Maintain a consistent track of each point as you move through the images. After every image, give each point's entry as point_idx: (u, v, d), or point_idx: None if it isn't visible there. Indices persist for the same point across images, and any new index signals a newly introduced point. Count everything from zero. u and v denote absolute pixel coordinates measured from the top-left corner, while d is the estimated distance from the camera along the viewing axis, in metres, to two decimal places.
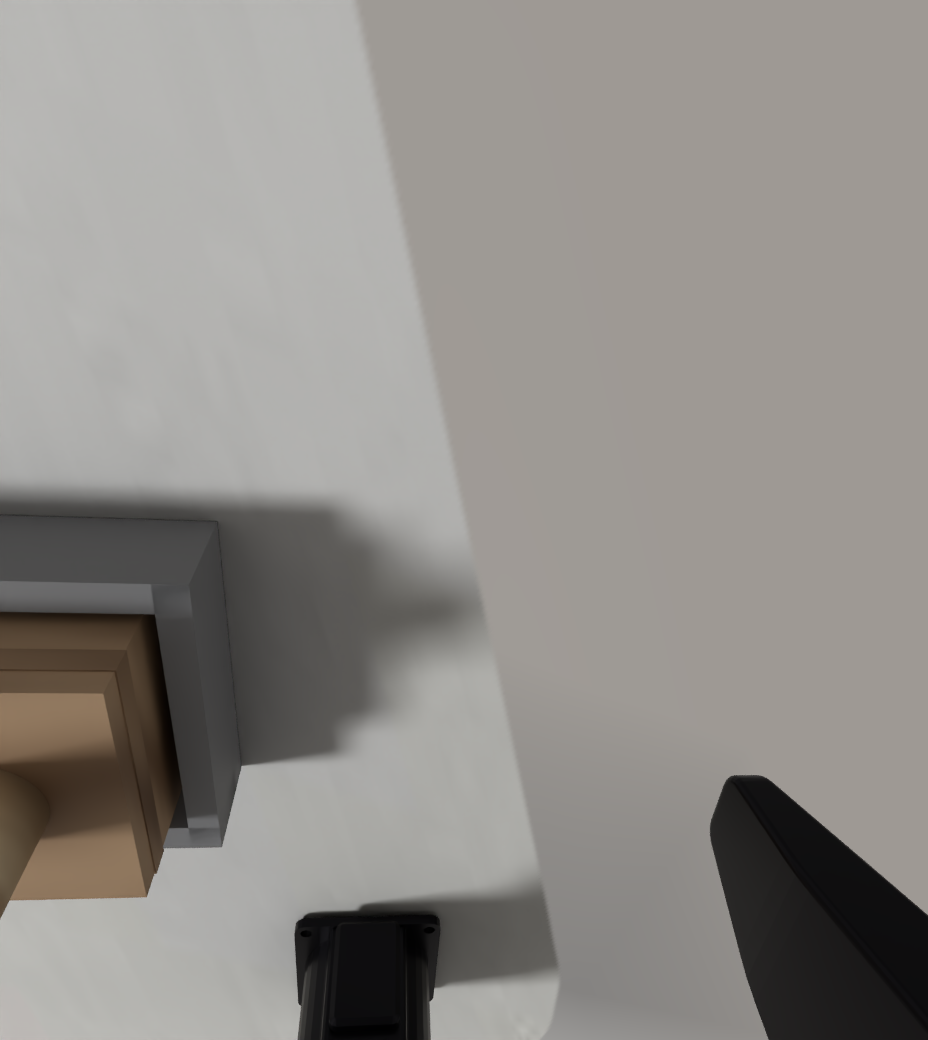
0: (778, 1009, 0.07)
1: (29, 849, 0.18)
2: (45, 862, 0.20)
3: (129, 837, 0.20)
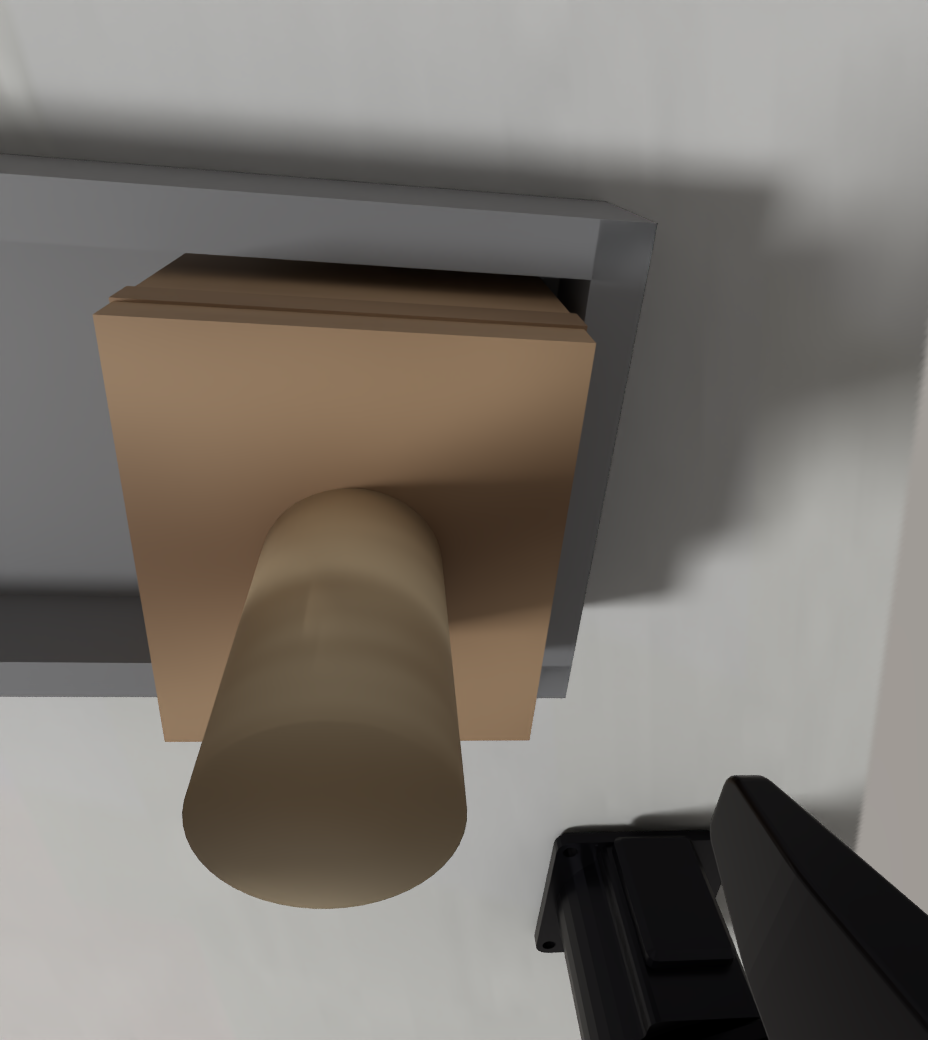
0: (778, 1009, 0.07)
1: None
2: None
3: (539, 633, 0.13)
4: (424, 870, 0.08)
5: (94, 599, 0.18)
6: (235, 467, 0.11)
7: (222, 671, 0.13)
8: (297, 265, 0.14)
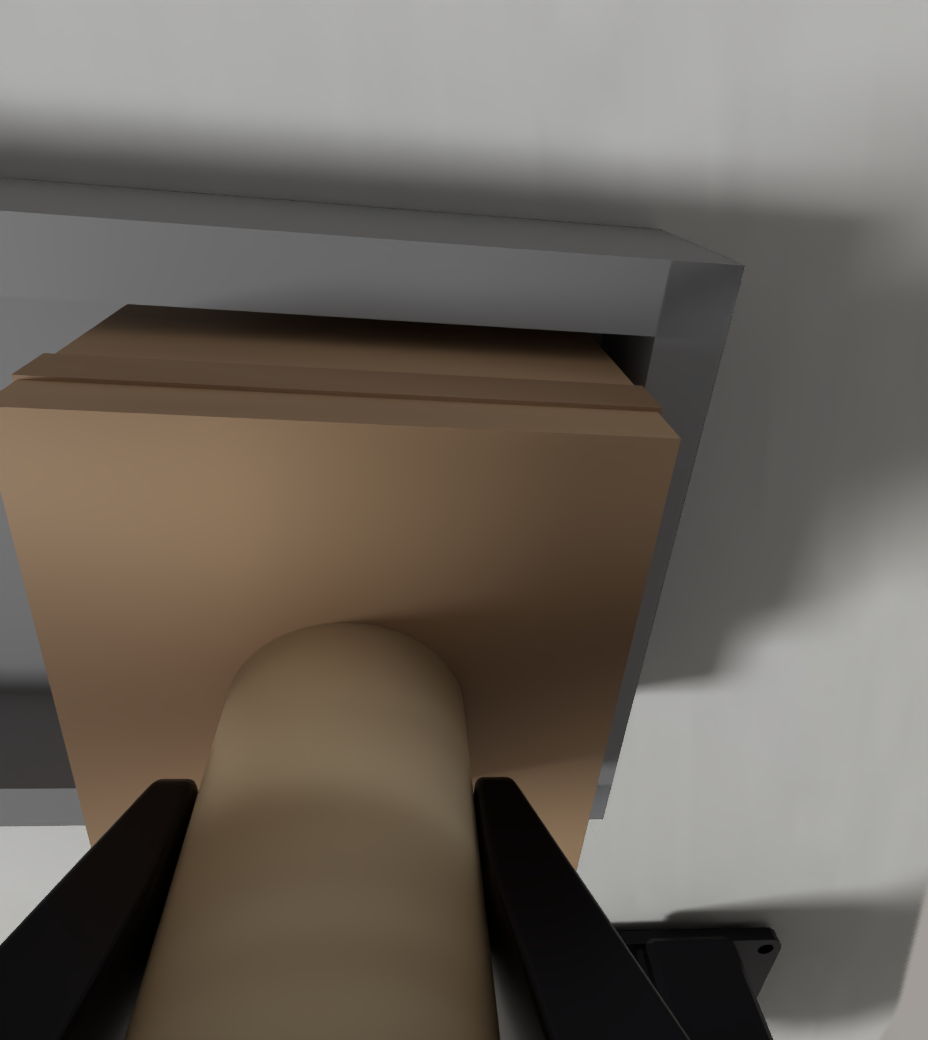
0: None
1: None
2: None
3: (586, 787, 0.10)
4: None
5: (41, 697, 0.15)
6: (188, 599, 0.08)
7: None
8: None
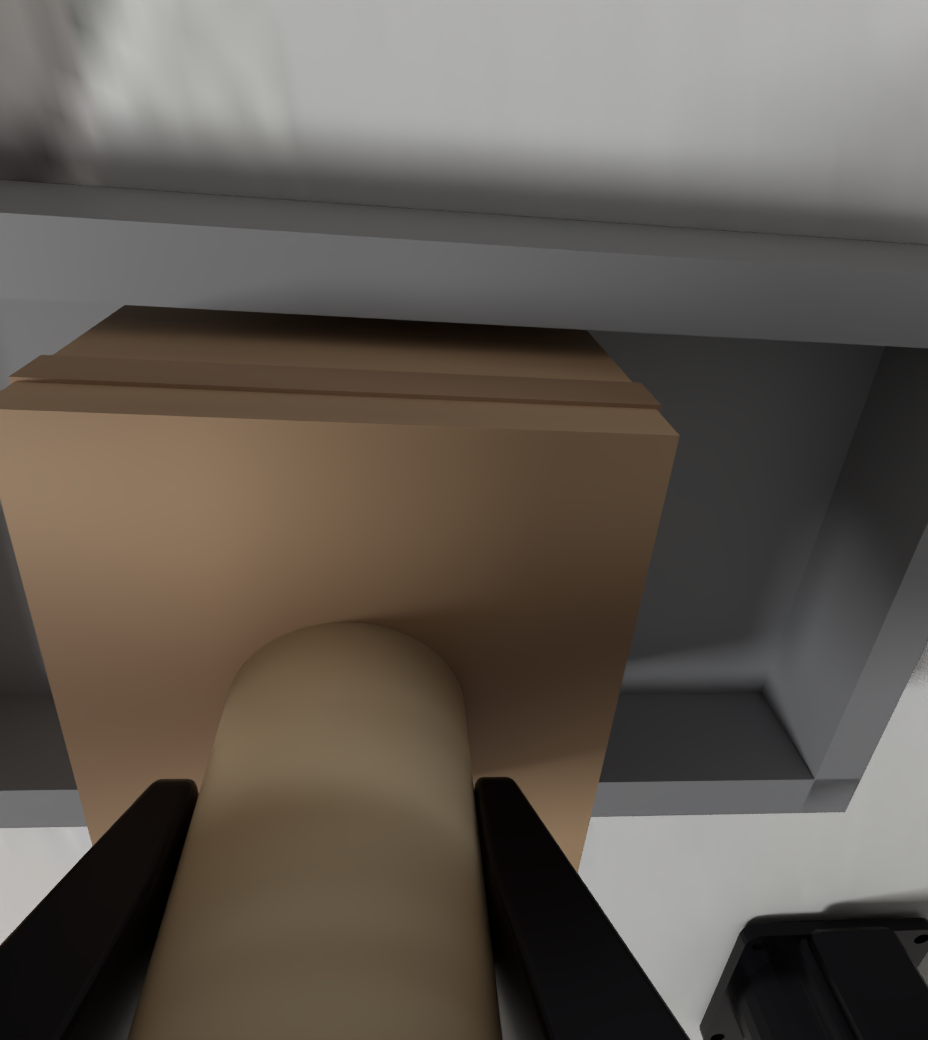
0: None
1: None
2: None
3: (587, 784, 0.10)
4: None
5: None
6: (187, 600, 0.08)
7: None
8: None
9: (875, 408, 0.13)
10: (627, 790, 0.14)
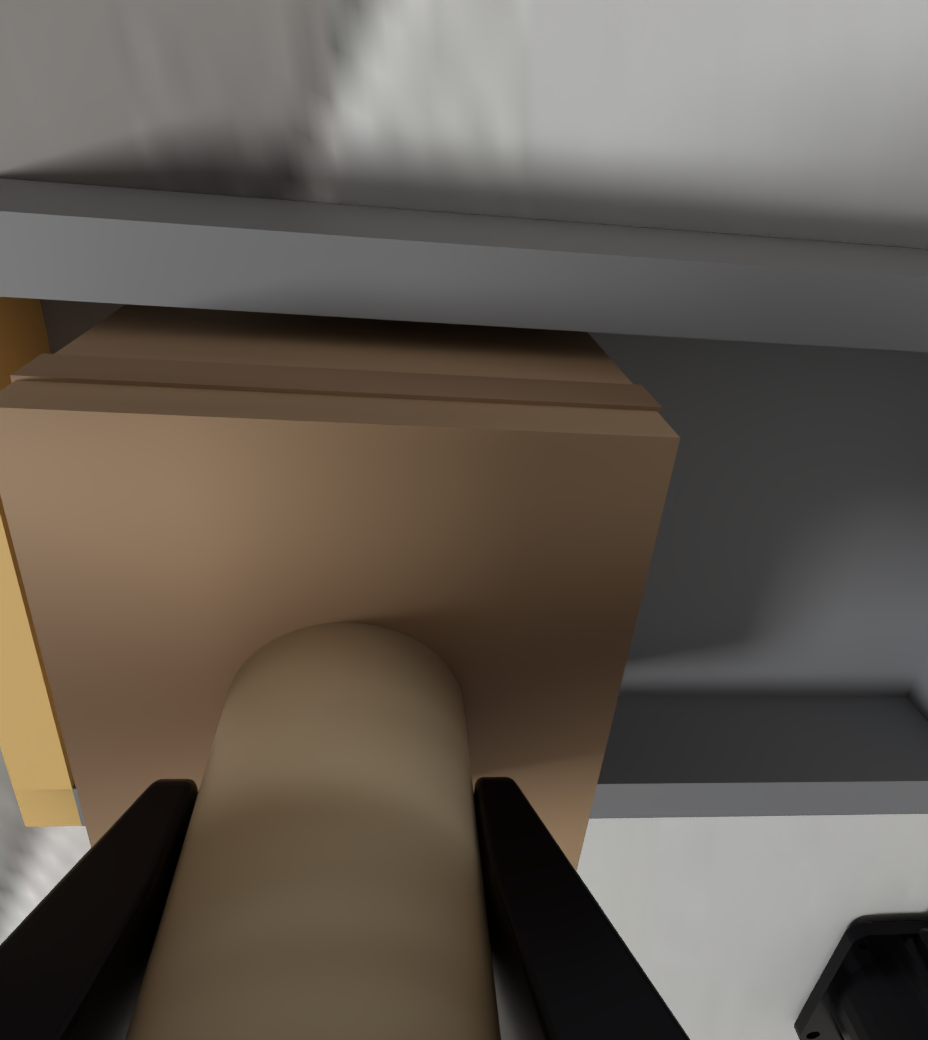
0: None
1: None
2: None
3: (586, 786, 0.10)
4: None
5: None
6: (187, 599, 0.08)
7: None
8: None
9: None
10: (801, 790, 0.15)
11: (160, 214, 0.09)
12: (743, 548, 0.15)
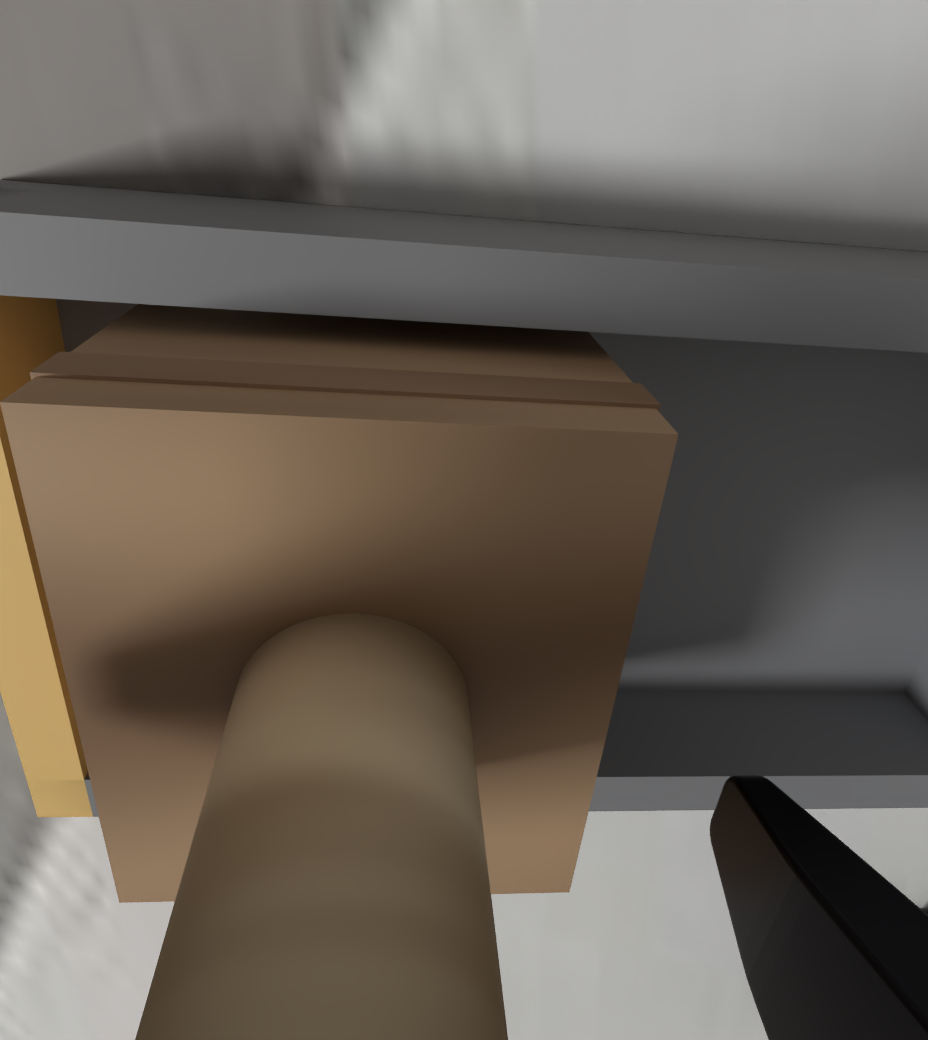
0: (778, 1009, 0.07)
1: None
2: None
3: (586, 775, 0.10)
4: None
5: None
6: (200, 590, 0.08)
7: (189, 825, 0.10)
8: None
9: None
10: (800, 784, 0.15)
11: (176, 217, 0.10)
12: (743, 545, 0.15)
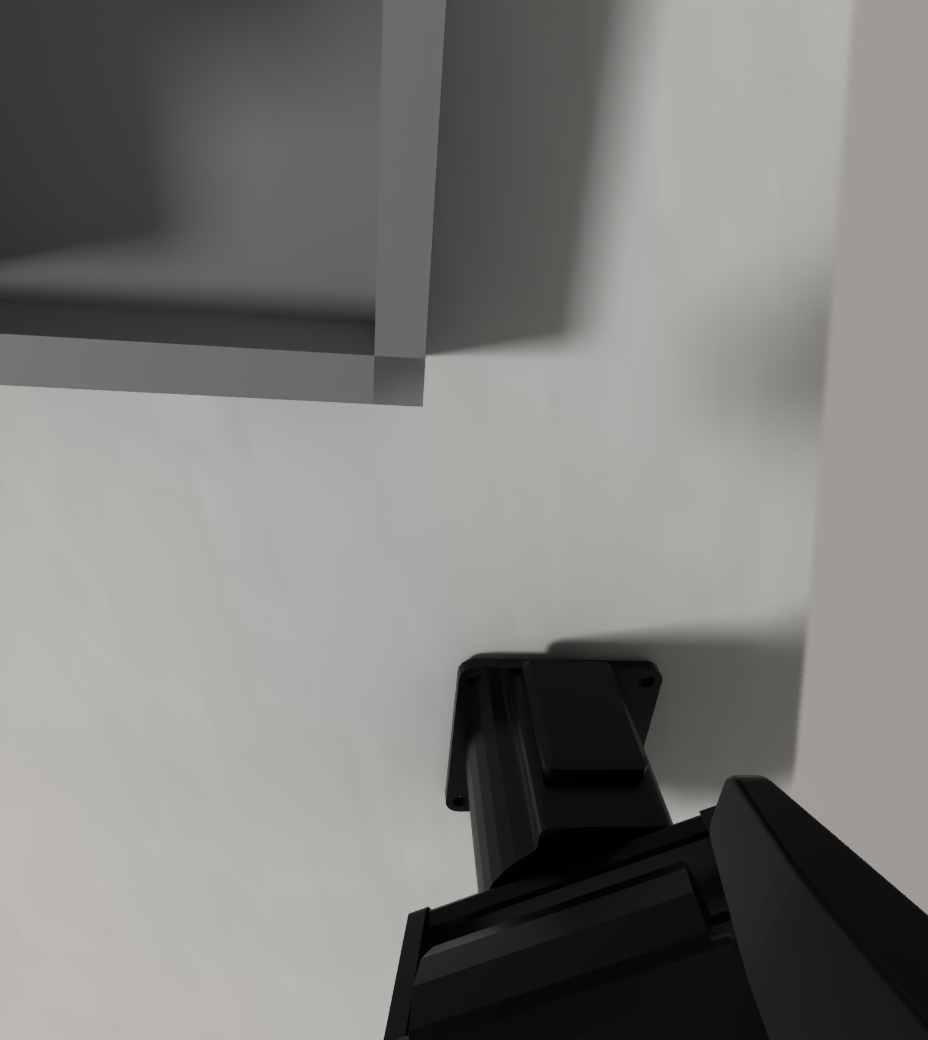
0: (778, 1009, 0.07)
1: None
2: None
3: None
4: None
5: None
6: None
7: None
8: None
9: None
10: (171, 356, 0.14)
11: None
12: (111, 98, 0.14)
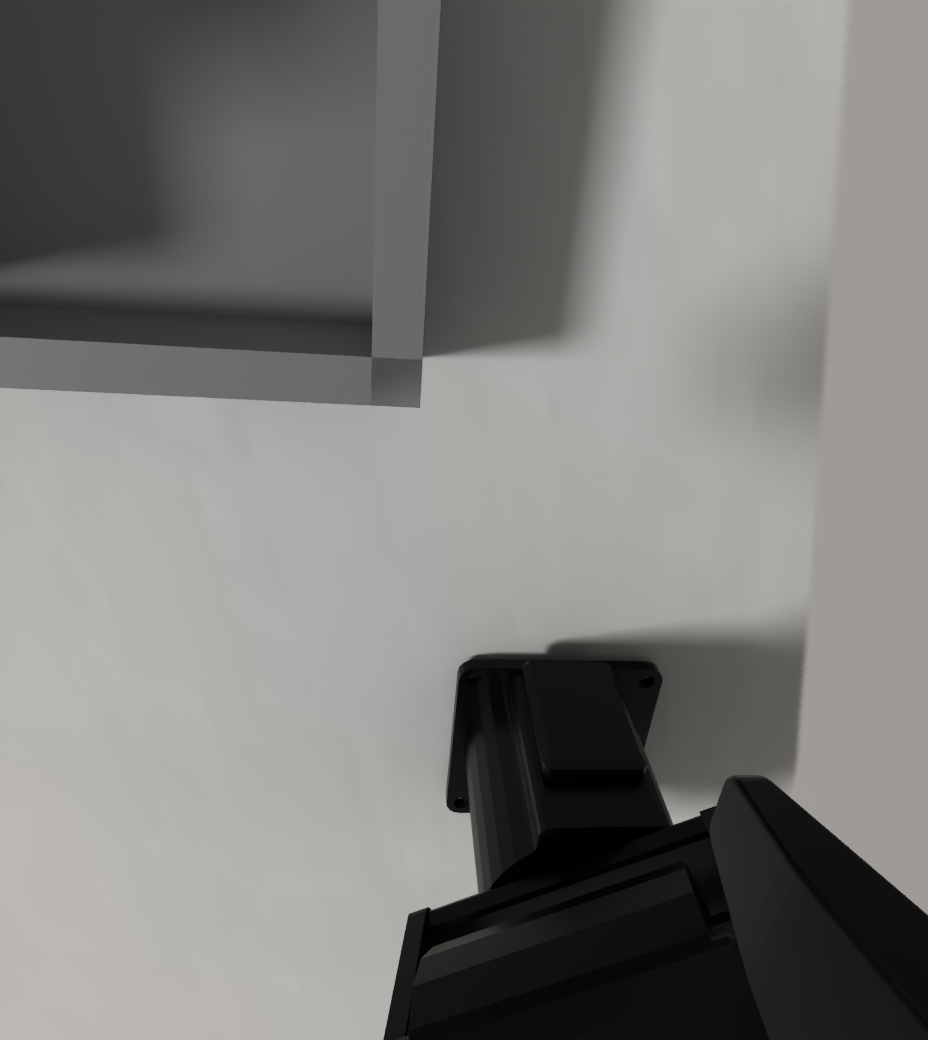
0: (778, 1009, 0.07)
1: None
2: None
3: None
4: None
5: None
6: None
7: None
8: None
9: None
10: (169, 358, 0.14)
11: None
12: (109, 102, 0.14)
